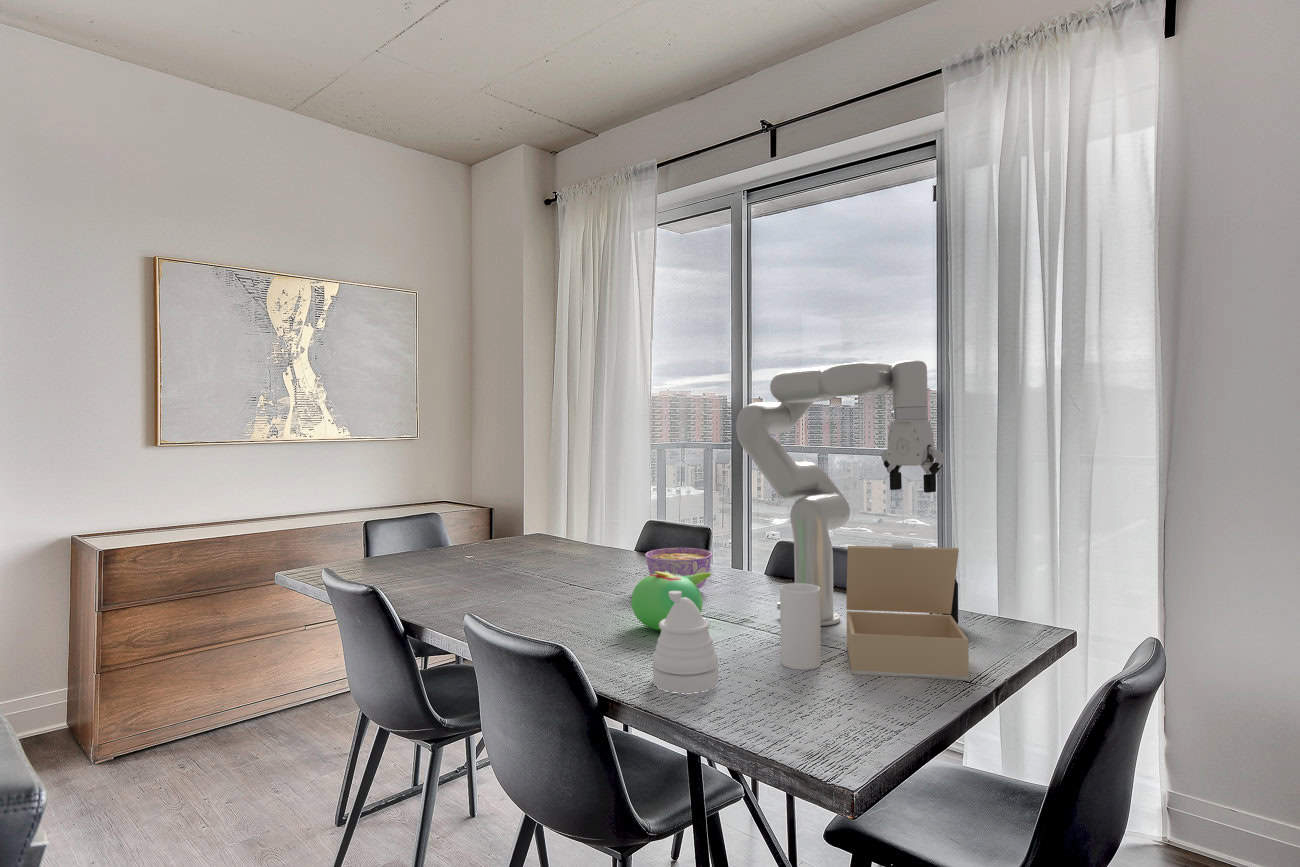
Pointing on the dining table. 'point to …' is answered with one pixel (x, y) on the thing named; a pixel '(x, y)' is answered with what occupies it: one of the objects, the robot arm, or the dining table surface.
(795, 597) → the cup
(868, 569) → the lid
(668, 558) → the bowl of food
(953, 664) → the mailer box
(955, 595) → the beverage can
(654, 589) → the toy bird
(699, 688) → the honey pot
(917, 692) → the dining table surface
